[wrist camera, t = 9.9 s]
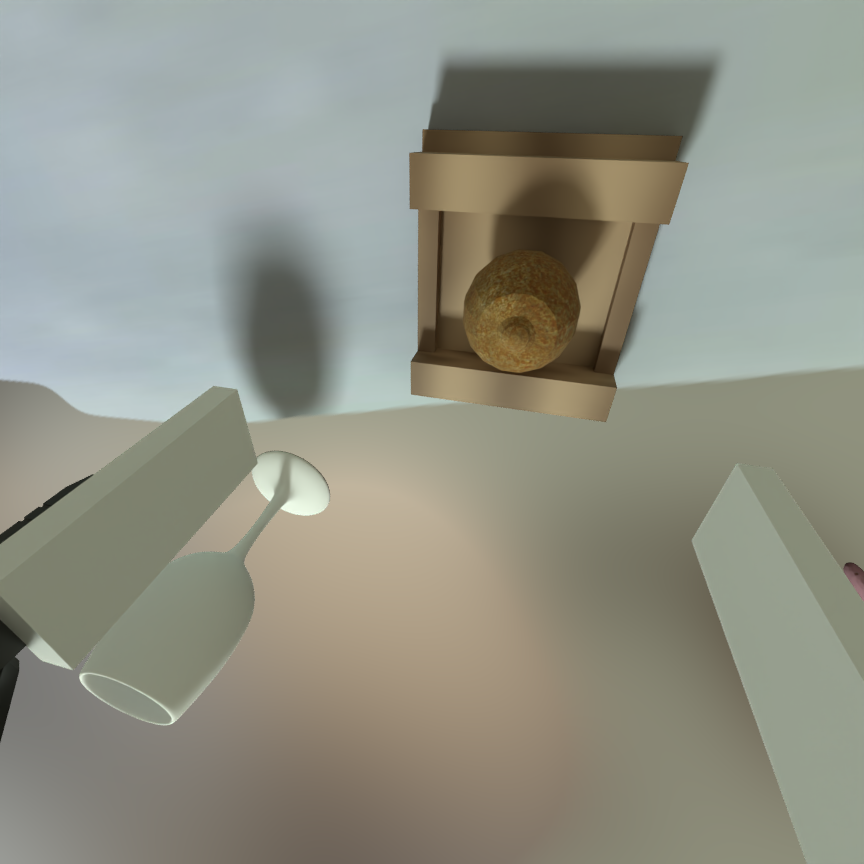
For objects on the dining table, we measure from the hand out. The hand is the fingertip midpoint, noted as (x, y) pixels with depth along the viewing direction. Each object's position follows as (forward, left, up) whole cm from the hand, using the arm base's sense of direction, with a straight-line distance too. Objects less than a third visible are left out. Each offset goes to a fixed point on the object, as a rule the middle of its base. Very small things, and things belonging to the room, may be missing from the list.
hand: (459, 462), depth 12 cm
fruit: (+1, 0, -18) cm, 18 cm away
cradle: (+1, 0, -19) cm, 19 cm away
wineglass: (-20, -22, -19) cm, 36 cm away
